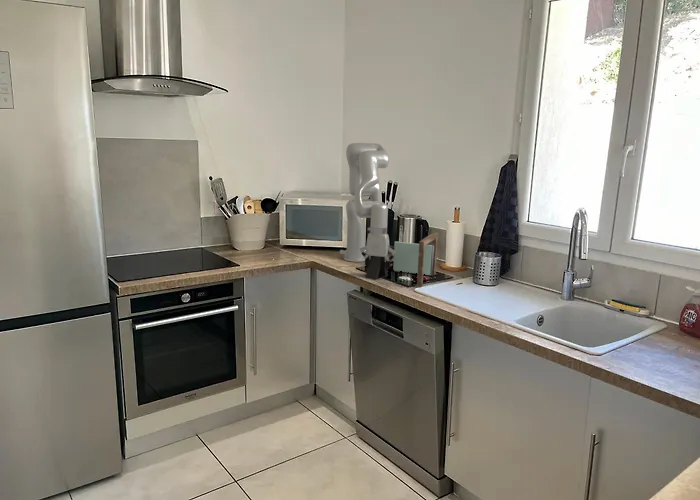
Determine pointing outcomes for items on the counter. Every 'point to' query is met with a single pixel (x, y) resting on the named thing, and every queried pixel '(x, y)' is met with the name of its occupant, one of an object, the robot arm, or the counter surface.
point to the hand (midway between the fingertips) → (377, 267)
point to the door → (412, 258)
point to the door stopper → (376, 268)
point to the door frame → (422, 243)
